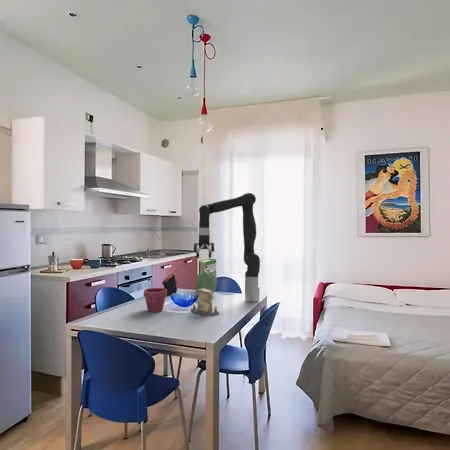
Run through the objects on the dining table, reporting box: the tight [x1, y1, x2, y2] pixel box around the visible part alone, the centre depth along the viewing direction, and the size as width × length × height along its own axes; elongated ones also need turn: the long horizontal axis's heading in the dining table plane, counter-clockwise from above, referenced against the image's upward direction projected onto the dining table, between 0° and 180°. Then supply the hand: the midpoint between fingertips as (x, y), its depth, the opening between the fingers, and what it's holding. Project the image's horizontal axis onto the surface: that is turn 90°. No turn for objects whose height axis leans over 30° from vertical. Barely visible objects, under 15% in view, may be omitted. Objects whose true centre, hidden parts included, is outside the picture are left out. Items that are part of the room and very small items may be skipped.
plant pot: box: [143, 287, 168, 313], centre depth 223 cm, size 14×14×13 cm
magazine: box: [161, 274, 178, 297], centre depth 270 cm, size 4×13×15 cm, turn 149°
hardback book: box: [198, 258, 217, 275], centre depth 292 cm, size 18×7×24 cm, turn 158°
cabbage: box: [194, 269, 218, 295], centre depth 266 cm, size 16×19×20 cm
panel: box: [197, 289, 213, 312], centre depth 220 cm, size 4×10×12 cm, turn 36°
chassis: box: [190, 302, 220, 317], centre depth 220 cm, size 10×16×4 cm, turn 36°
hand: (203, 258), depth 247 cm, fingers open, 8 cm apart
